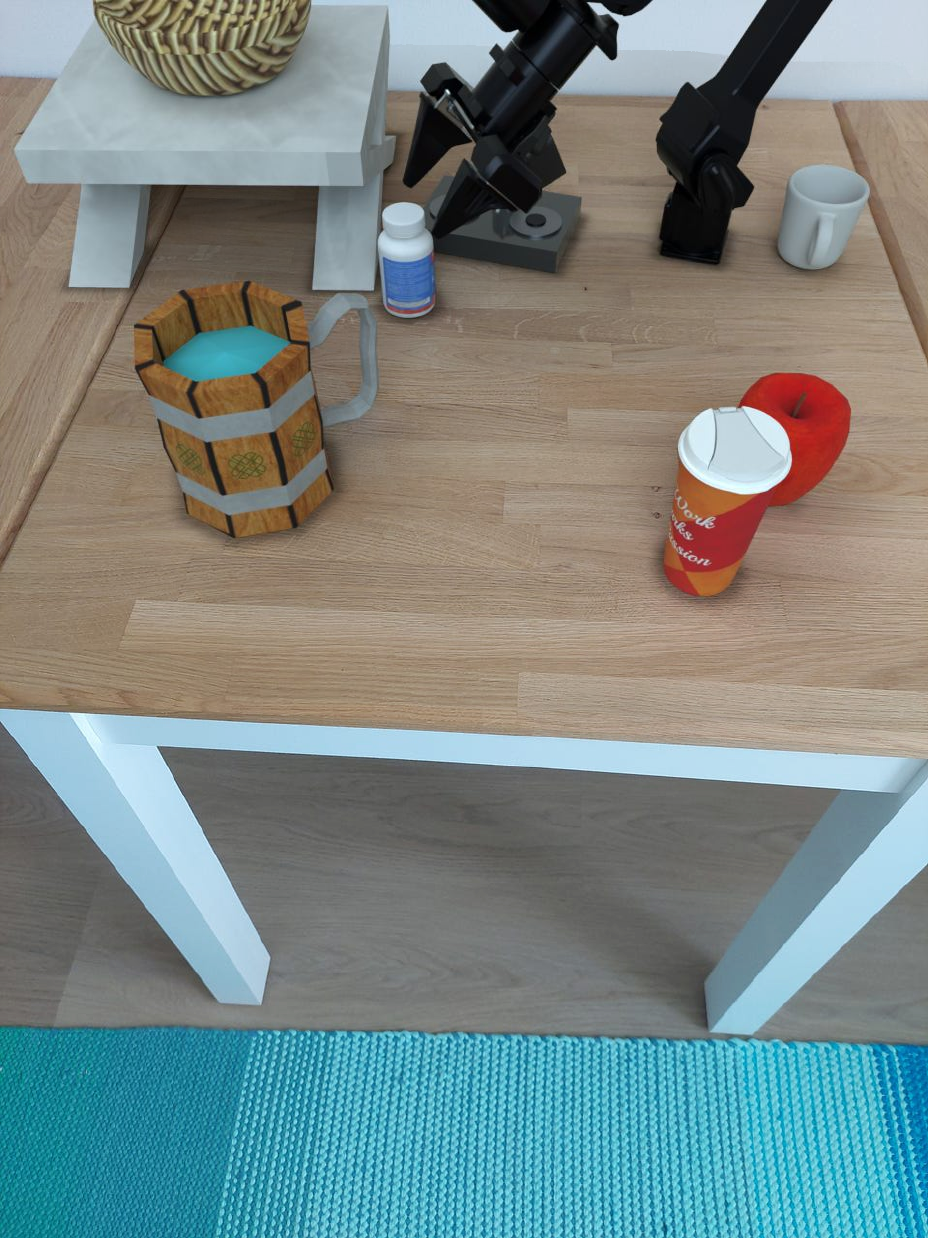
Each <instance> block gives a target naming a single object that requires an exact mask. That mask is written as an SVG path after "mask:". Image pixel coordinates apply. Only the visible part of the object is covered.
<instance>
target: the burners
mask: <svg viewBox="0 0 928 1238" xmlns="http://www.w3.org/2000/svg"><path fill="white" fill-rule="evenodd" d="M445 196H446V194H445V195H442V196H439V197H437V198H436V199H434V200H433V201H432V202H431V204H430V207H429V209H430V214H431V215H432V216H433V217H434V218H436V216H437V213H438V211H439V209H440V207H441V205H442V203H443V201H444V199H445ZM477 217H478V216H477ZM477 217H476V218H477ZM474 219H475V218H474ZM474 219H472V220H474ZM472 220H471V221H472ZM509 224H510V227H511V229H512V230H513V231H514V232H516V233H517V234H519V235H522V236H525V237H530V238H543V237H548V236H551V235H553V234H555V233H557V232H558V231H559V230H560V228H561V226H562V218H561V216H560V215H559V214H558V213H557V212H555V211H553V210H551V209H549V208H545V207H538V206H534V207H533V208H532V209H531V210H530V211H529V213H528V214H525V213H524V212H523V211H522V210H521V209H519V210H518V211H517V212H514V213H513V214H512V215H511V217H510V220H509Z"/></svg>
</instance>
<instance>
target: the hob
mask: <svg viewBox="0 0 928 1238" xmlns="http://www.w3.org/2000/svg"><path fill="white" fill-rule="evenodd" d="M454 177H455V175H454V176H453V175H448V174H443V175H442V177H441V179H440V180H439V182H438V184H437V185H436V186H435V188H434V190H433V191H432V193H431V194H430V196H429V197H428V199H427V201H426V203H425V204H424V206H423V207H422V209H423V210H424V215H425V228H426V229H427V230H428V231H429V232H430V230H431V228H432V225H433V223H434V220H435V218H434V217H433V216H432V215H431V214H430V209H429V207H430V204H431V202H432V201H433V200H434V199H436V198H437V197H439V196H442V195H445V194H447V192H448V190H449V188H450V186H451V184H452V182H453V179H454ZM582 200H583V197H582V196H577V195H572V194H565V193H559V192H553V191H547V190H542V198H541V199H540V200H539V201H538V202H537V203H536V205H535V206H538V207H545V208H549V209H551V210H553V211H555V212H557V213H558V214H559V215H560V216H561V218H562V226H561V228H560V230H559V231H558V232H557V233H555V234H553V235H551V236H548V237H543V238H530V237H525V236H522V235H519V234H517V233H516V232H514V231H513V230H512V229H511V227H510V224H509V220H510V217H511V215H512V214H513V213H514V212H513V213H512V212H510V211H509V210H508V209H494V210H489V211H487V212H485V213H483V214H481V215H479V216H478V217H477V218H475V219H474V220H472V221H469V222H467V223H466V224H464V225H462V226H461V227H459V228H457V229H456V230H454V231H453V232H451V233H449V234H448V235H446V236H444V237H443V238H441V239H437V238H435V237H434V236H433V235H432V234H431V235H432V238H433V250H434V253H439V254H444V255H445V254H446V255H450V256H454V257H455V256H456V257H462V258H467V259H472V260H479V261H484V262H490V263H495V264H501V265H507V266H511V267H516V268H517V267H518V268H523V269H529V270H534V271H540V272H546V273H551V274H556V273H557V270H558V268H559V266H560V263H561V261H562V259H563V256H564V254H565V253H566V250H567V248H568V245H569V243H570V242H571V239H572V237H573V235H574V233H575V230H576V228H577V226H578V223H579V222H580V219H581V213H582V212H581V211H582V202H583V201H582ZM517 208H518V207H517ZM518 210H519V208H518Z"/></svg>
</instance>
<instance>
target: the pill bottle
mask: <svg viewBox="0 0 928 1238" xmlns="http://www.w3.org/2000/svg"><path fill="white" fill-rule="evenodd" d="M381 222H382V228H383V230H382V231H380V235H379V238H378V255H379V259H378V266H379V274H380V287H381V296H382V297H381V298H382V303H383V307H384V308H385V310H386V311H387V312H388V313H389V314H391V315H393V316H395V317H398V318H404V319H413V318H418V317H422V316H424V315H426V314H428V313H430V312H431V311H432V309H433V308H434V307H435V305H436V298H437V297H436V296H437V295H436V275H435V252H434V250H433V238H432V235H431V233H430V232H429V231H428V230H427V229H426V228H425V215H424V210H423V207H422V206H420V205H419V204H416V203H413V202H407V201H404V202H403V201H401V202H395V203H393V204H390V205H388V206H386V207H385V208H384V209H383V211H382V212H381Z"/></svg>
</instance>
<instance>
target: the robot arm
mask: <svg viewBox="0 0 928 1238" xmlns="http://www.w3.org/2000/svg"><path fill="white" fill-rule="evenodd" d="M471 1H472V2H473V4H475V5H476V7H478V8H479V10H480V11H481V12H482V13H483V14H484V15H485V16H486V17H487V18H488V19H489V20H490V21H491V22H492V23H493V24H494V25H495V26H496V27H497V28H498V29H499V30H500V31H502V32H504V33H512V32H516V31H517V32H516V33H515V35H514V36H513V37H512V39H511V40H510V41H509V42H508V44H507V45H506V46H505V48H504V49H503V48H502V47H501V46H500V45H499V43H497V42H496V43H495V44H494V46H492V48H491V49H490V50H489V52H488V54H489V56H490V57H491V58H492V60H493V61H494V62H493V63H492V65H491V66H490V67H488V69H487V70H486V72H485V73H484V74H483V76H482V77H481V78H480V80H479V81H478V82H477V83H476V85H475V86H474V87H473V86H472V85H471V84H470V83H469V82H468V81H467V80H466V79H465V78H463V77H462V76H461V75H460V74H459V73H458V71H456V70H455V69H454V68H453V67H451V65H450V64H449V63H447V61H443V62H437V63H432V64H431V65H430V67H428V69H427V71H426V72H425V73H424V74H423V75H422V78H421V79H420V80H419V82H420V84H421V85H422V87H423V88H424V91H425V92H426V93H425V92H424V91H423V90H421V91H420V93H419V95H418V97H419V100H420V101H419V105H418V111H417V115H416V121H415V125H414V131H413V135H412V139H411V143H410V147H409V151H408V156H407V159H406V164H405V169H404V171H403V175H402V184H403V185H404V186H405V187H407V188H408V189H413V188H414V187H415V186H416V185H417V184H418V183H419V182H420V181H422V180H423V178H425V176H427V174H428V173H430V171H431V170H432V169H433V168H434V167H435V166H436V165H437V164H438V163H439V162H440V160H441V159H442V158H443V157H444V156H446V154H447V153H448V152H449V151H450V150H451V149H452V148H454V147H455V148H456V147H459V146H463V145H467V144H471V143H474V144H475V145H474V146H473V148H472V152H471V156H470V161H471V162H472V163H471V162H470V161H469V160H468V159H466V158H465V157H463V158H462V160H461V162H460V164H459V167H458V169H457V171H456V173H455V175H454V176H455V177H454V179H453V182H452V184H451V186H450V188H449V190H448V192H447V194H446V196H445V199H444V201H443V203H442V205H441V207H440V209H439V211H438V213H437V216H436V218H435V220H434V223H433V225H432V228H431V230H430V233H431V234H432V235H433V236H434V237H435V238H437V239H441V238H443V237H444V236H446V235H448V234H449V233H451V232H453V231H454V230H456V229H457V228H459V227H461V226H462V225H464V224H466V223H467V222H469V221H471V220H472V219H474V218H476V217H477V216H479V215H481V214H483V213H485V212H487V211H489V210H494V209H508V210H509V211H510V212H512V213H513V212H517V211H518V208H519V209H521V210H522V211H523V212H524V213H525V214H528V213H529V211H530V210H531V209H532V208H533V207H534V206H535V205H536V203H537V202H538V201H539V200H540V199H541V198H542V191H543V189H544V188H546V187H548V186H550V185H551V184H552V183H554V182H555V181H557V180H558V179H560V178H561V177H562V176H565V175H566V174H567V169H566V166H565V164H564V162H563V159H562V157H561V154H560V151H559V149H558V147H557V144H556V142H555V140H554V137H553V135H552V133H553V132H552V131H553V130H552V128H551V127H550V125H549V124H550V123H551V122H552V121H553V120H554V118H555V117H556V113H557V112H556V111H557V110H558V107H557V106H556V105H555V104H554V102H553V101H552V100H553V99H554V98H555V97H556V95H557V94H558V93H559V91H561V89H563V87H564V86H565V85H566V84H567V82H568V80H569V79H570V78H572V76H574V73H576V71H577V70H578V69H579V67H580V66H581V65H582V64H583V63H584V61H585V60H586V59H587V57H588V56H590V54H591V53H592V52H593V51H594V49H595V48H596V47H597V49H599V50H600V51H601V52H602V54H604V55H605V56H606V58H607V59H608V60H610V61H615V60H616V59H617V57H618V31H619V28H620V24H619V22H618V21H617V20H616V19H615V18H614V17H613V16H612V15H611V14H615V15H618V16H622V17H623V18H624V17H630V16H633V15H635V14H637V13H640V12H641V11H643V10H644V9H645V8H647V7H648V6H649V5H650V4H651V3H652V2H653V1H654V0H471ZM832 2H834V0H765V1H764V3H763V4H762V6H761V8H760V9H759V10H758V12H757V13H756V15H755V17H754V18H753V20H752V21H751V22H750V24H749V25H748V27H747V28H746V30H745V32H744V33H743V35H742V36H741V38H740V39H739V40H738V42H737V43H736V45H735V46H734V48H733V49H732V51H731V53H730V54H729V56H728V57H727V59H726V60H725V62H723V65H722V66H721V68H720V69H719V71H718V72H717V73H716V74H715V75H714V76H713V77H712V78H710V79H709V80H707V81H705V82H704V83H702V84H700V85H699V86H698V87H695V86H694V85H693V84H692V83H691V82H690V81H686V82H684V83H683V85H682V86H680V89H679V90H678V93H677V94H676V96H675V98H674V100H673V101H672V104H670V106H669V108H668V109H667V110H666V111H665V112H664V113H662V115H660V116H659V121H660V123H661V125H660V127H659V129H658V131H657V133H656V136H655V143H656V146H655V147H656V154H657V155H658V158H659V160H660V161H661V162H662V163H663V164H664V166H665V167H666V172H667V174H668V175H669V176H670V177H672V178H673V180H674V181H675V184H674V186H673V190H672V191H670V192H669V193H668V194H667V196H666V197H667V198H666V200H665V203H664V206H663V212H662V217H661V223H660V227H659V228H660V230H659V234H658V239H659V241H661V245H660V248H659V252H658V253H659V255H660V256H663V257H668V258H675V259H681V260H685V261H686V260H687V261H693V262H697V263H702V264H703V263H704V264H710V265H720V264H721V262H722V259H723V255H724V250H725V247H726V243H727V240H728V236H729V233H730V230H729V225H730V222H731V217H732V213H733V211H734V210H735V209H740V208H743V207H745V206H746V204H747V203H748V201H749V199H750V197H751V195H752V193H753V192H754V189H755V184H753V182H752V181H751V180H750V179H749V178H748V176H746V174H745V173H744V172H743V171H742V169H741V168H740V167H739V164H740V161H741V160H742V159H743V156H744V154H745V153H746V151H747V149H748V147H749V146H750V141H751V137H752V132H753V127H754V123H755V119H756V115H757V110H758V108H759V106H760V104H761V103H762V102H763V100H764V99H765V97H766V96H767V95H768V93H769V92H770V90H771V89H772V87H773V86H774V84H775V83H776V82H777V80H778V79H779V78H780V76H781V75H782V73H783V72H784V70H785V69H786V68H787V66H788V65H789V63H790V62H791V60H792V59H793V57H794V56H795V55H796V53H797V52H798V51H799V49H800V47H802V45H803V43H804V42H805V41H806V39H807V38H808V37H809V35H810V33H811V32H812V31H813V29H814V28H815V26H816V25H817V24H818V22H819V21H820V19H821V18H822V16H823V15H824V14H825V13H826V11H827V9H828V8H829V7H830V5H831V4H832ZM590 4H600V5H602V7H604V8H605V9H606V10H607V11H609V13H605V14H598V13H597V12H596V11H595V10H594V8H593V7H592V5H590ZM610 13H611V14H610ZM517 207H518V208H517Z"/></svg>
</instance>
